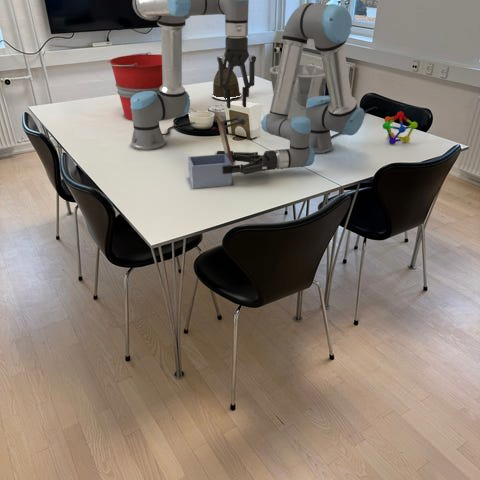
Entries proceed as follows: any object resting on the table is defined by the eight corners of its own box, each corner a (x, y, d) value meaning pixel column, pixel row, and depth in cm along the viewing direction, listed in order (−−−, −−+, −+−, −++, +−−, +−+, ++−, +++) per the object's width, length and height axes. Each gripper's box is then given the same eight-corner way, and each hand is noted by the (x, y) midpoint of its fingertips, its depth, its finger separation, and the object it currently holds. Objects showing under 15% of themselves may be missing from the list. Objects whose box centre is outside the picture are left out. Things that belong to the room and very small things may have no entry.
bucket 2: (296, 138, 215) (301, 78, 201) (255, 124, 234) (256, 68, 219) (335, 125, 232) (342, 70, 217) (294, 113, 251) (297, 61, 236)
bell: (227, 105, 294) (202, 96, 282) (238, 66, 289) (213, 55, 277) (243, 108, 280) (217, 98, 268) (255, 66, 275) (229, 55, 263)
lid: (220, 121, 156) (245, 114, 157) (215, 113, 164) (238, 107, 165) (230, 162, 165) (253, 155, 166) (224, 152, 173) (246, 146, 174)
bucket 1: (123, 105, 263) (116, 51, 247) (182, 106, 262) (179, 52, 247) (107, 123, 234) (97, 63, 218) (173, 124, 233) (168, 64, 217)
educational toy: (377, 146, 209) (379, 114, 202) (384, 138, 219) (386, 107, 211) (411, 149, 202) (415, 116, 195) (417, 141, 212) (420, 109, 204)
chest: (193, 188, 167) (191, 166, 162) (189, 178, 175) (188, 156, 170) (231, 184, 170) (231, 163, 165) (226, 174, 178) (225, 153, 173)
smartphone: (215, 163, 186) (217, 150, 198) (215, 165, 186) (217, 152, 199) (232, 163, 186) (233, 150, 198) (232, 165, 186) (233, 152, 199)
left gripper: (212, 39, 142) (213, 111, 155) (265, 37, 146) (263, 108, 159) (207, 35, 149) (209, 105, 161) (259, 34, 152) (257, 102, 165)
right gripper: (284, 180, 167) (226, 185, 163) (266, 158, 186) (214, 163, 181) (285, 161, 163) (226, 166, 159) (267, 141, 182) (214, 145, 177)
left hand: (236, 106), depth 160 cm, fingers open, 5 cm apart
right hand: (220, 164), depth 170 cm, fingers closed on chest, 10 cm apart
